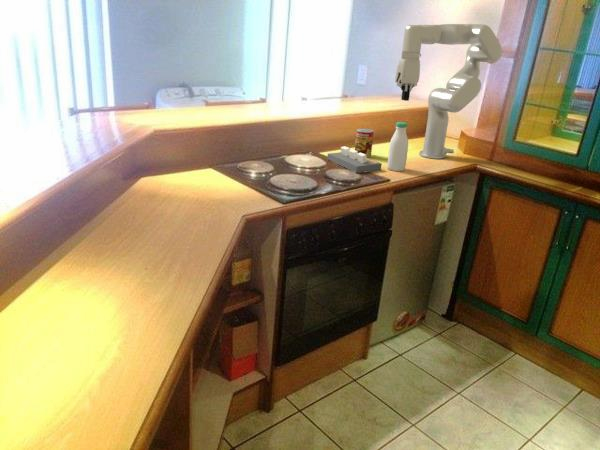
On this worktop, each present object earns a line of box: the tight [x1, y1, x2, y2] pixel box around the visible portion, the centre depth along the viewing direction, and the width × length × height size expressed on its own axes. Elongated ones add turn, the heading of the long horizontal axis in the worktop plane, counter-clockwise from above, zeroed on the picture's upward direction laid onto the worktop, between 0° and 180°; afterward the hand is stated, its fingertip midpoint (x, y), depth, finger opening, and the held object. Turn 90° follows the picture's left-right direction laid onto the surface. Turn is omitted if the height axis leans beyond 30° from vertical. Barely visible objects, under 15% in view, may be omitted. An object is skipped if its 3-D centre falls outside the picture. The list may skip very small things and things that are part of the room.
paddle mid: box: [349, 148, 358, 160], centre depth 211 cm, size 2×4×3 cm, turn 30°
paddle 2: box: [357, 152, 367, 163], centre depth 207 cm, size 2×4×3 cm, turn 30°
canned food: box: [354, 128, 374, 159], centre depth 227 cm, size 8×8×12 cm
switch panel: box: [327, 151, 383, 173], centre depth 213 cm, size 13×22×3 cm, turn 30°
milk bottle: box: [386, 121, 409, 172], centre depth 207 cm, size 8×8×20 cm
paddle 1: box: [340, 145, 351, 156], centre depth 216 cm, size 2×4×3 cm, turn 30°
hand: (405, 100), depth 215 cm, fingers closed
